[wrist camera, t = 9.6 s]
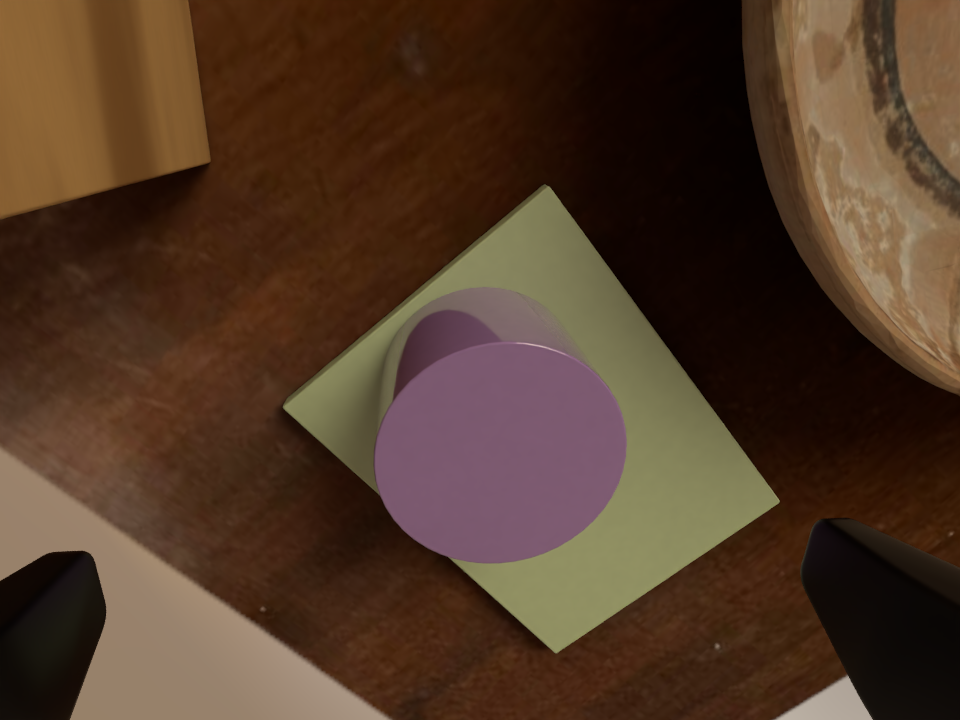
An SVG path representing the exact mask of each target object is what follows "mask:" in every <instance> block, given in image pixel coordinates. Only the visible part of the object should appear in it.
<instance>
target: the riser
mask: <svg viewBox="0 0 960 720" xmlns="http://www.w3.org/2000/svg"><path fill="white" fill-rule="evenodd" d="M210 161H211V159H210V152H209V145H208V138H207V131H206V124H205V117H204V110H203V102H202V95H201V88H200V81H199V74H198V67H197V60H196V53H195V46H194V38H193V31H192V24H191V17H190V10H189V3H188V0H0V220H1V219H5V218H8V217H12V216H16V215H19V214H23V213H27V212H31V211H34V210H38V209H42V208H45V207H49V206H53V205H57V204H60V203H64V202H68V201H71V200H75V199H79V198H82V197H86V196H90V195H94V194H97V193H101V192H105V191H108V190H112V189H116V188H119V187H123V186H127V185H131V184H134V183H138V182H142V181H145V180H149V179H153V178H156V177H160V176H164V175H168V174H171V173H175V172H179V171H182V170H186V169H190V168H193V167H197V166H201V165H205V164H208V163H210Z"/></svg>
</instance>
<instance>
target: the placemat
mask: <svg viewBox="0 0 960 720" xmlns="http://www.w3.org/2000/svg"><path fill="white" fill-rule="evenodd" d="M477 287H494V288H502V289H507V290H512V291H515V292H518V293H521V294H524V295H526V296H528V297H530V298H532V299H534V300H536V301H538V302H539V303H541V304H542V305H544V306H545V307H547V308H548V309H549V310H550V311H551V312H552V313H553V314H554V315H556V317H557V318H558V319H559V320H560V321H561V323H562V324H563V325H564V326H565V328H566V329H567V330H568V332H569V333H570V335H571V336H572V337H573V339H574V340H575V342H576V343H577V344H578V346H579V347H580V348H581V350H582V351H583V353H584V354H585V355H586V357H587V358H588V360H589V361H590V362H591V364H592V365H593V366H594V368H595V369H596V371H597V372H598V373H599V375H600V376H601V377H602V379H603V380H604V382H605V383H606V384H607V386H608V387H609V389H610V390H611V392H612V394H613V395H614V397H615V398H616V400H617V402H618V405H619V407H620V410H621V412H622V415H623V419H624V423H625V427H626V437H627V449H626V459H625V464H624V469H623V473H622V475H621V478H620V481H619V484H618V486H617V488H616V490H615V492H614V494H613V496H612V498H611V499H610V501H609V502H608V504H607V505H606V507H605V508H604V510H603V511H602V512H601V513H600V514H599V515H598V517H597V518H596V519H595V520H594V521H593V522H592V523H591V524H590V525H589V526H588V527H587V528H585V529H584V530H583V531H582V532H581V533H579V534H578V535H577V536H575V537H574V538H572V539H571V540H569V541H568V542H566V543H564V544H563V545H561V546H559V547H557V548H555V549H553V550H551V551H548V552H546V553H544V554H541V555H538V556H535V557H532V558H529V559H524V560H520V561H515V562H507V563H474V562H466V561H462V560H457V559H453V558H450V557H449V558H450V559H451V560H452V561H453V562H454V563H455V564H457V565H458V566H459V567H460V568H461V569H462V570H463V571H464V572H465V573H467V574H468V575H469V576H470V577H471V578H472V579H473V580H474V581H475V582H477V583H478V584H479V585H480V586H481V587H482V588H483V589H484V590H485V591H487V592H488V593H489V594H490V595H491V596H492V597H493V598H494V599H495V600H497V601H498V602H499V603H500V604H501V605H502V606H503V607H504V608H505V609H507V610H508V611H509V612H510V613H511V614H512V615H513V616H514V617H515V618H517V619H518V620H519V621H520V622H521V623H522V624H523V625H524V626H525V627H527V628H528V629H529V630H530V631H531V632H532V633H533V634H534V635H535V636H537V637H538V638H539V639H540V640H541V641H542V642H543V643H544V644H545V645H547V646H548V647H549V648H550V649H551V650H552V651H553V652H554V653H558V652H559V651H561V650H562V649H563V648H565V647H566V646H568V645H569V644H571V643H572V642H574V641H575V640H577V639H578V638H580V637H581V636H583V635H584V634H586V633H587V632H589V631H590V630H592V629H593V628H595V627H596V626H598V625H599V624H601V623H602V622H603V621H605V620H606V619H608V618H609V617H611V616H612V615H614V614H615V613H617V612H618V611H620V610H621V609H623V608H624V607H626V606H627V605H629V604H630V603H632V602H633V601H635V600H636V599H638V598H639V597H640V596H642V595H643V594H645V593H646V592H648V591H649V590H651V589H652V588H654V587H655V586H657V585H658V584H660V583H661V582H663V581H664V580H666V579H667V578H669V577H670V576H672V575H673V574H675V573H676V572H677V571H679V570H680V569H682V568H683V567H685V566H686V565H688V564H689V563H691V562H692V561H694V560H695V559H697V558H698V557H700V556H701V555H703V554H704V553H706V552H707V551H709V550H710V549H712V548H713V547H715V546H716V545H717V544H719V543H720V542H722V541H723V540H725V539H726V538H728V537H729V536H731V535H732V534H734V533H735V532H737V531H738V530H740V529H741V528H743V527H744V526H746V525H747V524H749V523H750V522H752V521H753V520H754V519H756V518H757V517H759V516H760V515H762V514H763V513H765V512H766V511H768V510H769V509H771V508H772V507H774V506H775V505H777V504H778V503H779V502H780V501H779V499H778V498H777V496H776V495H775V494H774V492H773V491H772V489H771V488H770V487H769V485H768V484H767V483H766V481H765V480H764V479H763V477H762V476H761V474H760V473H759V472H758V470H757V469H756V468H755V466H754V465H753V464H752V462H751V461H750V459H749V458H748V457H747V455H746V454H745V453H744V451H743V450H742V448H741V447H740V446H739V444H738V443H737V442H736V440H735V439H734V438H733V436H732V435H731V433H730V432H729V431H728V429H727V428H726V427H725V425H724V424H723V423H722V421H721V420H720V418H719V417H718V416H717V414H716V413H715V412H714V410H713V409H712V408H711V406H710V405H709V403H708V402H707V401H706V399H705V398H704V397H703V395H702V394H701V393H700V391H699V390H698V388H697V387H696V386H695V384H694V383H693V382H692V380H691V379H690V378H689V376H688V375H687V373H686V372H685V371H684V369H683V368H682V367H681V365H680V364H679V362H678V361H677V360H676V358H675V357H674V356H673V354H672V353H671V352H670V350H669V349H668V347H667V346H666V345H665V343H664V342H663V341H662V339H661V338H660V337H659V335H658V334H657V332H656V331H655V330H654V328H653V327H652V326H651V324H650V323H649V322H648V320H647V319H646V317H645V316H644V315H643V313H642V312H641V311H640V309H639V308H638V307H637V305H636V304H635V302H634V301H633V300H632V298H631V297H630V296H629V294H628V293H627V292H626V290H625V289H624V287H623V286H622V285H621V283H620V282H619V281H618V279H617V278H616V276H615V275H614V274H613V272H612V271H611V270H610V268H609V267H608V266H607V264H606V263H605V261H604V260H603V259H602V257H601V256H600V255H599V253H598V252H597V251H596V249H595V248H594V246H593V245H592V244H591V242H590V241H589V240H588V238H587V237H586V236H585V234H584V233H583V231H582V230H581V229H580V227H579V226H578V225H577V223H576V222H575V221H574V219H573V218H572V216H571V215H570V214H569V212H568V211H567V210H566V208H565V207H564V206H563V204H562V203H561V201H560V200H559V199H558V197H557V196H556V195H555V193H554V192H553V190H552V189H551V188H550V187H549V186H547V185H545V184H544V185H542V186H541V187H540V188H539V189H538V190H536V191H535V192H534V193H533V194H532V195H530V196H529V197H528V198H527V199H526V200H524V201H523V202H522V203H521V204H520V205H518V206H517V207H516V208H515V209H514V210H512V211H511V212H510V213H509V214H508V215H506V216H505V217H504V218H503V219H502V220H500V221H499V222H498V223H497V224H496V225H494V226H493V227H492V228H491V229H490V230H488V231H487V232H486V233H485V234H484V235H482V236H481V237H480V238H479V239H478V240H476V241H475V242H474V243H473V244H472V245H470V246H469V247H468V248H467V249H466V250H464V251H463V252H462V253H461V254H460V255H458V256H457V257H456V258H455V259H454V260H452V261H451V262H450V263H449V264H448V265H446V266H445V267H444V268H443V269H442V270H440V271H439V272H438V273H437V274H436V275H434V276H433V277H432V278H431V279H430V280H428V281H427V282H426V283H425V284H424V285H422V286H421V287H420V288H419V289H418V290H416V291H415V292H414V293H413V294H412V295H410V296H409V297H408V298H407V299H406V300H404V301H403V302H402V303H401V304H400V305H398V306H397V307H396V308H395V309H394V310H392V311H391V312H390V313H389V314H388V315H386V316H385V317H384V318H383V319H382V320H380V321H379V322H378V323H377V324H376V325H374V326H373V327H372V328H371V329H370V330H368V331H367V332H366V333H365V334H364V335H362V336H361V337H360V338H359V339H358V340H356V341H355V342H354V343H353V344H352V345H350V346H349V347H348V348H347V349H346V350H344V351H343V352H342V353H341V354H340V355H338V356H337V357H336V358H335V359H334V360H332V361H331V362H330V363H329V364H328V365H326V366H325V367H324V368H323V369H322V370H320V371H319V372H318V373H317V374H316V375H314V376H313V377H312V378H311V379H310V380H308V381H307V382H306V383H305V384H304V385H302V386H301V387H300V388H299V389H298V390H297V391H295V392H294V393H293V394H292V395H291V396H289V397H288V398H287V399H286V401H285V403H284V406H283V409H284V410H285V411H286V412H288V413H289V414H290V415H291V416H292V417H293V418H294V419H295V420H296V421H298V422H299V423H300V424H301V425H302V426H303V427H304V428H305V429H306V430H308V431H309V432H310V433H311V434H312V435H313V436H314V437H315V438H316V439H318V440H319V441H320V442H321V443H322V444H323V445H324V446H325V447H326V448H328V449H329V450H330V451H331V452H332V453H333V454H334V455H335V456H336V457H338V458H339V459H340V460H341V461H342V462H343V463H344V464H345V465H346V466H348V467H349V468H350V469H351V470H352V471H353V472H354V473H355V474H356V475H358V476H359V477H360V478H361V479H362V480H363V481H364V482H365V483H366V484H368V485H369V486H370V487H371V488H372V489H373V490H374V491H375V492H376V493H378V494H379V491H378V488H377V485H376V481H375V474H374V467H373V463H374V444H375V434H376V424H377V414H378V404H379V394H380V384H381V374H382V368H383V362H384V359H385V356H386V353H387V350H388V348H389V346H390V344H391V342H392V340H393V338H394V336H395V335H396V333H397V332H398V331H399V329H400V328H401V326H402V325H403V324H404V323H405V322H406V321H407V320H408V319H409V318H410V317H411V316H412V315H413V314H414V313H415V312H416V311H418V310H419V309H420V308H422V307H423V306H425V305H426V304H428V303H429V302H431V301H433V300H435V299H437V298H439V297H441V296H443V295H446V294H449V293H451V292H454V291H458V290H463V289H468V288H477Z"/></svg>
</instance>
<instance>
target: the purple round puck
mask: <svg viewBox="0 0 960 720" xmlns="http://www.w3.org/2000/svg"><path fill="white" fill-rule="evenodd" d="M626 449H627V437H626V427H625V423H624V419H623V415H622V412H621V410H620V407H619V405H618V402H617V400H616V398H615V397H614V395H613V394H612V392H611V390H610V389H609V387H608V386H607V384H606V383H605V382H604V380H603V379H602V377H601V376H600V375H599V373H598V372H597V371H596V369H595V368H594V366H593V365H592V364H591V362H590V361H589V360H588V358H587V357H586V355H585V354H584V353H583V351H582V350H581V348H580V347H579V346H578V344H577V343H576V342H575V340H574V339H573V337H572V336H571V335H570V333H569V332H568V330H567V329H566V328H565V326H564V325H563V324H562V323H561V321H560V320H559V319H558V318H557V317H556V315H554V314H553V313H552V312H551V311H550V310H549V309H548V308H547V307H545V306H544V305H542V304H541V303H539V302H538V301H536V300H534V299H532V298H530V297H528V296H526V295H524V294H521V293H518V292H515V291H512V290H507V289H502V288H494V287H477V288H468V289H463V290H458V291H454V292H451V293H449V294H446V295H443V296H441V297H439V298H437V299H435V300H433V301H431V302H429V303H428V304H426V305H425V306H423V307H422V308H420V309H419V310H418V311H416V312H415V313H414V314H413V315H412V316H411V317H410V318H409V319H408V320H407V321H406V322H405V323H404V324H403V325H402V326H401V328H400V329H399V331H398V332H397V333H396V335H395V336H394V338H393V340H392V342H391V344H390V346H389V348H388V350H387V353H386V356H385V359H384V362H383V368H382V374H381V384H380V394H379V404H378V414H377V424H376V434H375V444H374V463H373V467H374V474H375V481H376V485H377V488H378V491H379V495H380V497H381V499H382V501H383V503H384V505H385V507H386V509H387V510H388V512H389V513H390V515H391V516H392V518H393V519H394V521H395V522H396V523H397V524H398V525H399V526H400V527H401V528H402V530H403V531H404V532H406V533H407V534H408V535H409V536H410V537H412V538H413V539H414V540H415V541H417V542H418V543H420V544H422V545H423V546H425V547H426V548H428V549H430V550H432V551H434V552H437V553H439V554H441V555H444V556H447V557H450V558H453V559H457V560H462V561H466V562H474V563H507V562H515V561H520V560H524V559H529V558H532V557H535V556H538V555H541V554H544V553H546V552H548V551H551V550H553V549H555V548H557V547H559V546H561V545H563V544H564V543H566V542H568V541H569V540H571V539H572V538H574V537H575V536H577V535H578V534H579V533H581V532H582V531H583V530H584V529H585V528H587V527H588V526H589V525H590V524H591V523H592V522H593V521H594V520H595V519H596V518H597V517H598V515H599V514H600V513H601V512H602V511H603V510H604V508H605V507H606V505H607V504H608V502H609V501H610V499H611V498H612V496H613V494H614V492H615V490H616V488H617V486H618V484H619V481H620V478H621V475H622V473H623V469H624V464H625V459H626Z"/></svg>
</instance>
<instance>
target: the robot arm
mask: <svg viewBox="0 0 960 720" xmlns="http://www.w3.org/2000/svg"><path fill="white" fill-rule="evenodd" d="M801 581H802V584H803V587H804V589H805V592H806V593H807V595H808V597H809V599H810V601H811V603H812V605H813V607H814V609H815V611H816V613H817V615H818V617H819V619H820V621H821V623H822V625H823V627H824V629H825V631H826V633H827V635H828V637H829V639H830V641H831V643H832V645H833V647H834V649H835V651H836V653H837V655H838V657H839V658H840V660H841V662H842V664H843V666H844V668H845V670H846V672H847V674H848V676H849V678H850V680H851V682H852V683H853V686H854V687H855V689H856V691H857V693H858V695H859V697H860V699H861V700H862V702H863V704H864V706H865V707H866V709H867V710H868V712H869V714H870V716H871V717H872V719H873V720H960V568H959V567H956V566H954V565H952V564H950V563H948V562H945V561H943V560H941V559H939V558H937V557H935V556H932V555H930V554H928V553H926V552H924V551H921V550H919V549H917V548H915V547H913V546H910V545H908V544H906V543H904V542H902V541H899V540H897V539H895V538H893V537H891V536H889V535H886V534H884V533H882V532H880V531H878V530H875V529H873V528H871V527H869V526H867V525H864V524H862V523H860V522H858V521H856V520H853V519H850V518H830V519H821V520H819V521H817V522H816V523H815V524H814V525H813V527H812V530H811V534H810V537H809V541H808V544H807V547H806V551H805V554H804V558H803V561H802V565H801ZM105 619H106V604H105V599H104V595H103V592H102V588H101V584H100V580H99V576H98V573H97V569H96V564H95V561H94V559H93V557H92V556H91V554H89V553H88V552H85V551H65V552H52V553H48V554H46V555H44V556H42V557H40V558H39V559H37V560H35V561H33V562H32V563H30V564H28V565H27V566H25V567H23V568H21V569H20V570H18V571H16V572H15V573H13V574H11V575H10V576H8V577H6V578H5V579H3V580H1V581H0V720H70V718H71V715H72V712H73V709H74V707H75V704H76V701H77V699H78V696H79V693H80V690H81V688H82V685H83V682H84V679H85V676H86V674H87V671H88V668H89V666H90V663H91V660H92V658H93V655H94V652H95V649H96V646H97V644H98V641H99V639H100V636H101V633H102V630H103V627H104V624H105Z"/></svg>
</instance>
